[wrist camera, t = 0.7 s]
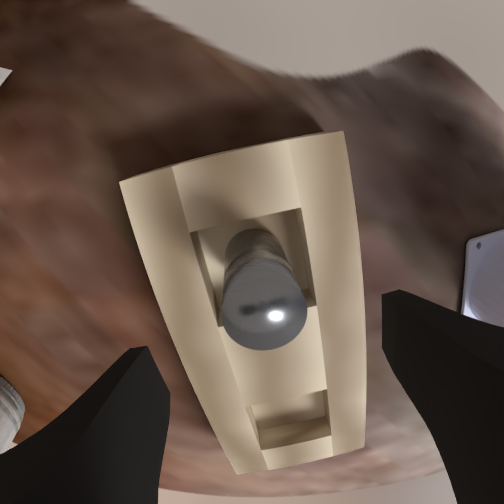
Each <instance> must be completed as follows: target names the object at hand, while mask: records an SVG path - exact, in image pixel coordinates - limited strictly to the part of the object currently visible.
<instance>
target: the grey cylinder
mask: <svg viewBox="0 0 504 504" xmlns="http://www.w3.org/2000/svg"><path fill="white" fill-rule="evenodd" d="M307 312H308V311H307V304H306V301H305V298H304V296H303V294H302V291H301V289H300V287H299V284H298V282H297V280H296V278H295V275H294V273H293V271H292V268H291V266H290V264H289V262H288V259H287V257H286V255H285V253H284V250H283V248H282V246H281V244H280V242H279V240H278V239H277V238H276V237H275V236H274V235H273V234H272V233H270V232H268V231H266V230H263V229H258V228H251V229H246V230H243V231H241V232H239V233H237V234H236V235H235V236H234V237H233V238H232V239H231V240H230V242H229V243H228V245H227V248H226V251H225V264H224V281H223V300H222V322H223V326H224V329H225V331H226V332H227V334H228V335H229V336H230V338H231V339H232V340H233V341H235V342H236V343H237V344H239V345H241V346H243V347H245V348H248V349H252V350H260V351H264V350H273V349H276V348H279V347H282V346H284V345H286V344H288V343H289V342H291V341H292V340H293V339H295V338H296V337H297V336H298V335H299V333H300V332H301V331H302V329H303V327H304V325H305V323H306V319H307Z"/></svg>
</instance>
